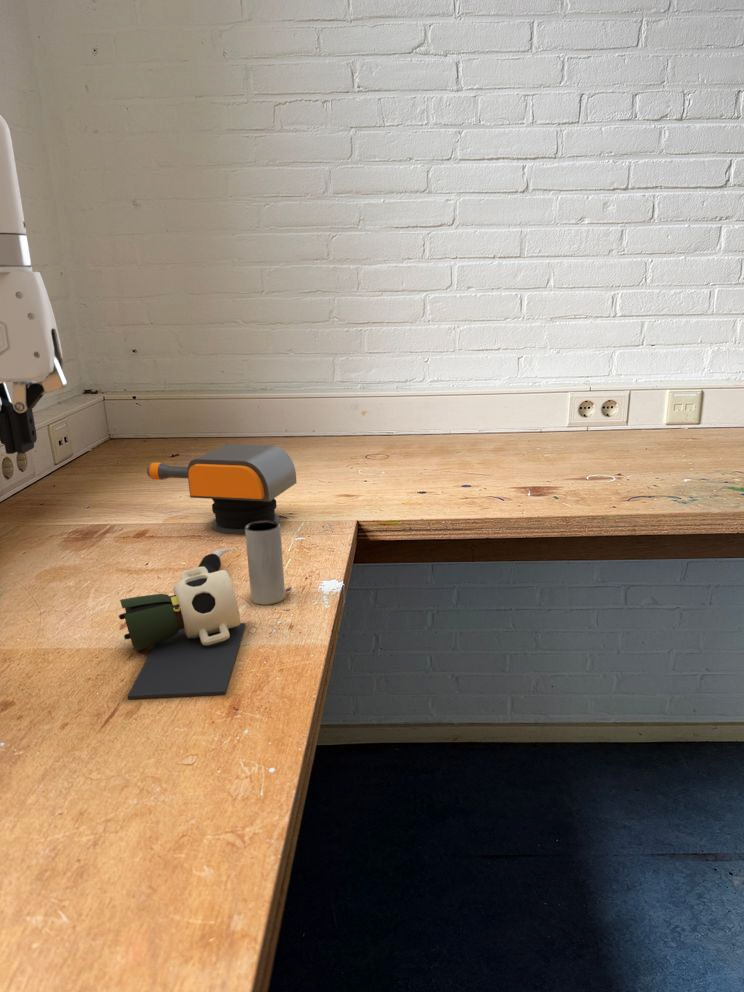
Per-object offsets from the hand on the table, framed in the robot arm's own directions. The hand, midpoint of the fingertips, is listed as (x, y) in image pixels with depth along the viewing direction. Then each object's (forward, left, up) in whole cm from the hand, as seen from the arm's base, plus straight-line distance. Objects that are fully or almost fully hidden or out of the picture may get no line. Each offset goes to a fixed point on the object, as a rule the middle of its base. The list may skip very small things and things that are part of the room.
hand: (20, 450), depth 80 cm
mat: (+14, +2, -25) cm, 29 cm away
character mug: (+6, +5, -22) cm, 23 cm away
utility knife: (+12, +25, -25) cm, 38 cm away
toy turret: (+9, +55, -25) cm, 61 cm away
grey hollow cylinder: (+21, +19, -25) cm, 38 cm away
